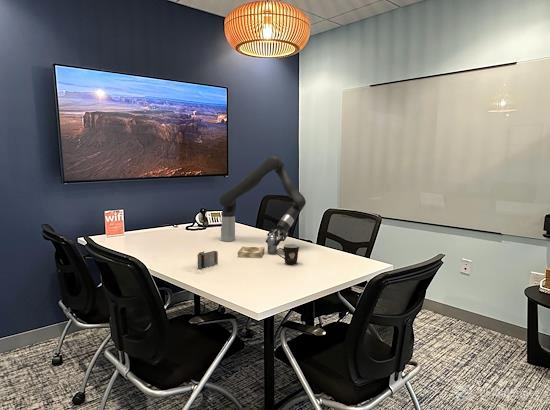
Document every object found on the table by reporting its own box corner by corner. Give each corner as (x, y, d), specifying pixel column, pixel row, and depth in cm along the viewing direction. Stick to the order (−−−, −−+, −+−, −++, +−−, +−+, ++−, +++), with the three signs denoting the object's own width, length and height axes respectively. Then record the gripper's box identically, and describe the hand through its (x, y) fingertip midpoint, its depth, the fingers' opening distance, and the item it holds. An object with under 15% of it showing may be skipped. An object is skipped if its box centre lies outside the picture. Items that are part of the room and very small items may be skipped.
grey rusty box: (201, 270, 191) (201, 251, 190) (197, 268, 193) (197, 250, 192) (218, 265, 199) (218, 248, 198) (214, 264, 201) (214, 247, 200)
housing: (267, 254, 222) (267, 236, 220) (268, 252, 227) (268, 234, 226) (276, 254, 221) (276, 236, 220) (277, 252, 227) (277, 234, 225)
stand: (237, 257, 215) (237, 251, 214) (242, 251, 229) (242, 245, 228) (261, 257, 214) (261, 252, 213) (264, 251, 227) (264, 246, 227)
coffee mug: (300, 262, 205) (300, 244, 204) (296, 266, 197) (296, 248, 196) (280, 260, 209) (280, 243, 208) (275, 264, 201) (275, 246, 200)
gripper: (274, 218, 232) (260, 238, 226) (290, 221, 221) (275, 242, 215) (281, 225, 236) (267, 245, 230) (296, 228, 225) (282, 250, 219)
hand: (271, 244), depth 223 cm, fingers open, 8 cm apart
